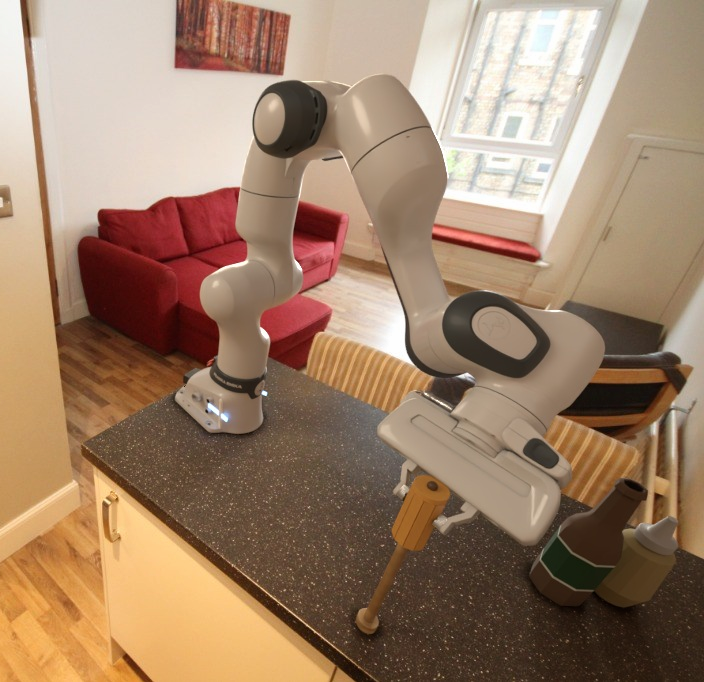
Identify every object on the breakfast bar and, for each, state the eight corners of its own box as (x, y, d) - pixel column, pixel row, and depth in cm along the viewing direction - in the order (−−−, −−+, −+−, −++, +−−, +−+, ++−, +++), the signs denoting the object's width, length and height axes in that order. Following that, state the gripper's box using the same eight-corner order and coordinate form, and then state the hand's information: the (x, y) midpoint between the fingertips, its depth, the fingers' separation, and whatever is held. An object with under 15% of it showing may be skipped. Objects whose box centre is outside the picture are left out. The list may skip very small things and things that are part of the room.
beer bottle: (516, 573, 77) (588, 472, 65) (544, 558, 80) (618, 460, 68) (564, 616, 71) (652, 514, 59) (592, 599, 73) (682, 498, 62)
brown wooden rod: (352, 623, 67) (401, 516, 55) (360, 609, 69) (409, 503, 57) (371, 638, 65) (426, 531, 54) (379, 623, 67) (434, 517, 56)
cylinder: (386, 536, 57) (410, 482, 52) (398, 518, 60) (422, 464, 55) (418, 557, 55) (446, 502, 50) (429, 536, 58) (457, 482, 53)
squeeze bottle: (622, 622, 70) (694, 551, 62) (568, 577, 77) (626, 505, 68) (649, 604, 73) (721, 533, 65) (595, 562, 80) (654, 491, 71)
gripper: (411, 374, 60) (344, 452, 60) (589, 476, 45) (499, 579, 45) (420, 392, 64) (358, 465, 64) (585, 491, 49) (503, 585, 49)
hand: (417, 513), depth 55 cm, fingers closed on cylinder, 4 cm apart
